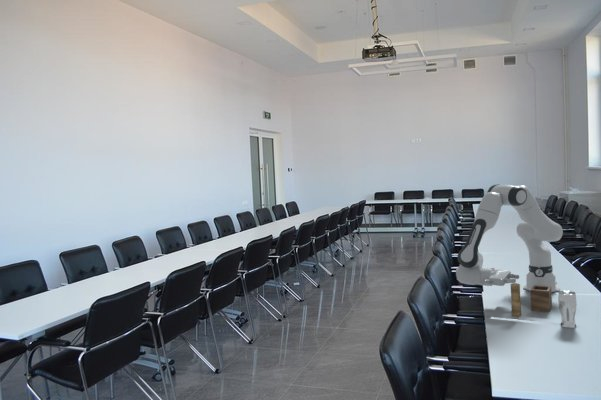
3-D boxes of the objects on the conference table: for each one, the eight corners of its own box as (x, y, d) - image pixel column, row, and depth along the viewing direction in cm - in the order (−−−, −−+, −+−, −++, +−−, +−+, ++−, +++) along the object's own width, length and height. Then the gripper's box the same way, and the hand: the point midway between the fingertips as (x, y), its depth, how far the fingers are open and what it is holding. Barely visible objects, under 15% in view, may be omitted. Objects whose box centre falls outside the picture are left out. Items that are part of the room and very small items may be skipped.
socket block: (534, 304, 246) (533, 285, 246) (552, 306, 242) (551, 286, 241) (531, 310, 238) (530, 290, 237) (549, 312, 234) (548, 291, 233)
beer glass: (575, 323, 219) (573, 290, 218) (579, 328, 212) (578, 294, 211) (557, 323, 221) (556, 290, 220) (561, 328, 214) (560, 294, 213)
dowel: (512, 315, 235) (511, 283, 234) (521, 316, 233) (520, 283, 232) (511, 318, 232) (509, 284, 231) (520, 319, 230) (518, 285, 229)
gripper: (483, 275, 243) (513, 277, 236) (492, 267, 261) (520, 268, 253) (483, 287, 244) (513, 289, 236) (492, 279, 261) (521, 280, 253)
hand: (517, 278), depth 245 cm, fingers open, 8 cm apart
